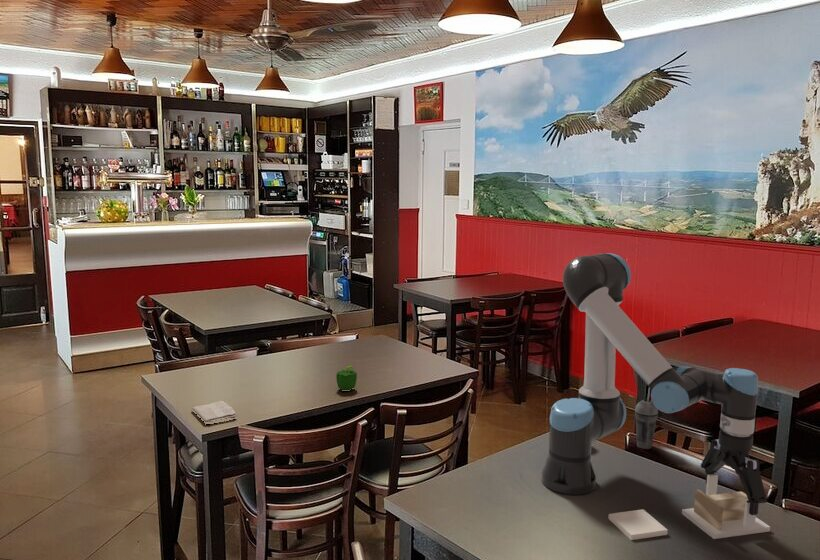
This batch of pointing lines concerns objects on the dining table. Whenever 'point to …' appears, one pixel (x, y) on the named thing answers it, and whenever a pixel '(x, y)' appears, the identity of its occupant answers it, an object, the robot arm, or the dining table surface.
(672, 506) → the dining table surface
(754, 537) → the dining table surface
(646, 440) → the beverage cup
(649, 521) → the tile
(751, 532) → the board
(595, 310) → the robot arm
